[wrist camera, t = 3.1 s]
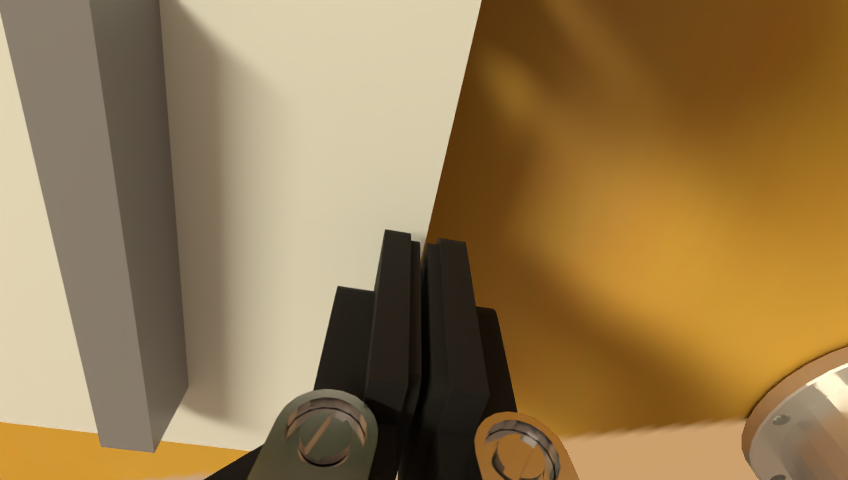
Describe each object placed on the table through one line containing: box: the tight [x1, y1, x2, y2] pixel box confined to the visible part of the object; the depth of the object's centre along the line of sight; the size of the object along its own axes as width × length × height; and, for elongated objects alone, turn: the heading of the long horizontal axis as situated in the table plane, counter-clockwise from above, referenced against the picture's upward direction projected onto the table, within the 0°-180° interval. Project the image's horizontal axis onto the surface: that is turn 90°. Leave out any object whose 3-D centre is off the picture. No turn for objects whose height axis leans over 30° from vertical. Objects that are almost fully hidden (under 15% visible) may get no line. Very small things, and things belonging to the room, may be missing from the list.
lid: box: [0, 0, 482, 453], centre depth 10 cm, size 11×15×3 cm
